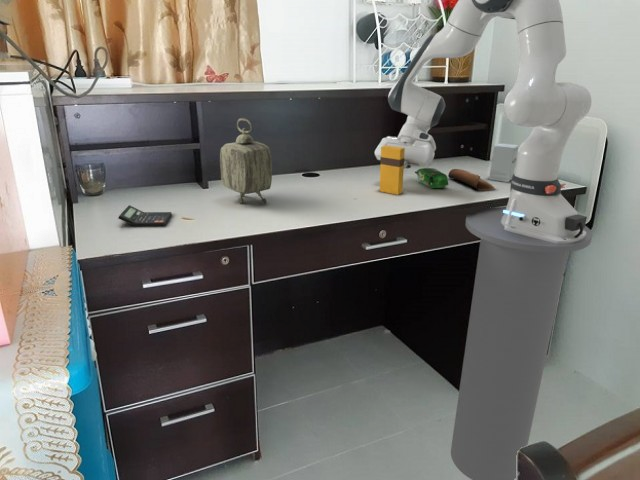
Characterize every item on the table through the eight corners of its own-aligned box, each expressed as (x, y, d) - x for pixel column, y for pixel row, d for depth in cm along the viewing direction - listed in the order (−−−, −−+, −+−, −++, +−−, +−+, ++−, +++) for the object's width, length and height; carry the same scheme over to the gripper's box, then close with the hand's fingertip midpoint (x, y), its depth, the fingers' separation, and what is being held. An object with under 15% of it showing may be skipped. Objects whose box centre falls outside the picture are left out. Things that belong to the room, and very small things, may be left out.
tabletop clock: (272, 203, 153) (271, 119, 144) (248, 209, 147) (245, 122, 138) (243, 194, 162) (240, 114, 153) (219, 199, 156) (215, 117, 147)
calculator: (164, 226, 132) (163, 215, 131) (119, 226, 131) (117, 215, 130) (171, 215, 141) (170, 204, 140) (128, 215, 140) (127, 204, 139)
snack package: (431, 179, 186) (432, 165, 184) (450, 189, 172) (451, 174, 170) (413, 179, 185) (414, 165, 183) (430, 190, 170) (431, 175, 168)
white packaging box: (508, 182, 183) (514, 147, 178) (488, 179, 187) (493, 145, 182) (513, 178, 189) (519, 144, 184) (493, 175, 192) (498, 142, 188)
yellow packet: (383, 188, 171) (385, 145, 165) (402, 192, 167) (405, 147, 161) (379, 191, 169) (380, 146, 163) (398, 195, 165) (400, 149, 159)
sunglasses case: (497, 188, 173) (491, 172, 170) (481, 199, 172) (474, 183, 169) (466, 176, 189) (460, 161, 186) (451, 186, 188) (445, 171, 185)
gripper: (381, 130, 174) (365, 162, 170) (436, 136, 163) (420, 171, 159) (387, 141, 179) (371, 173, 175) (440, 148, 168) (425, 182, 164)
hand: (394, 172), depth 167 cm, fingers closed
